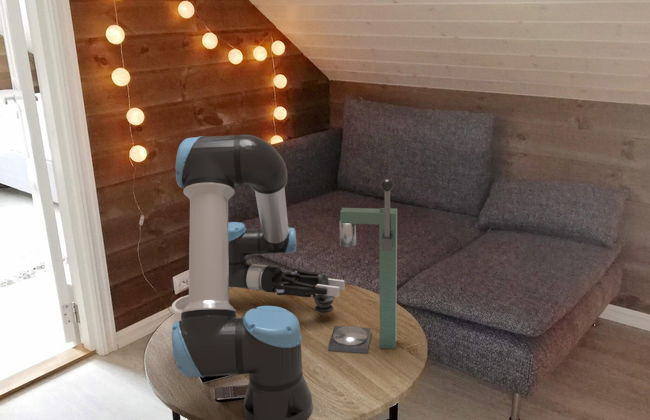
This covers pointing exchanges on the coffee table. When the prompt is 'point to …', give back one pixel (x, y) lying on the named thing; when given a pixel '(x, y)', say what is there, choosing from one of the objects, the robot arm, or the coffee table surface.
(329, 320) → the coffee table surface
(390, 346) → the arbor press
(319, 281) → the dark chess piece
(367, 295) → the coffee table surface
